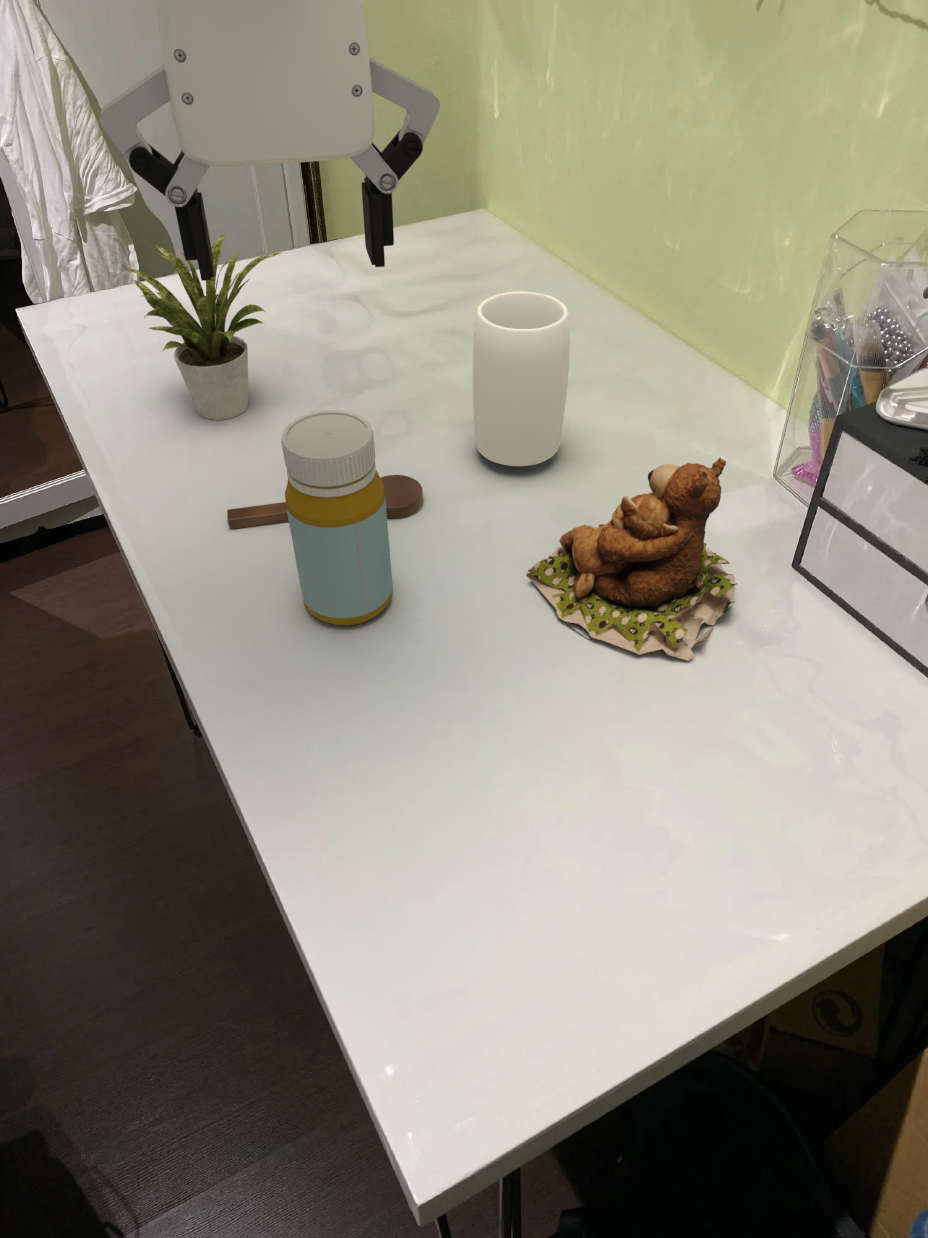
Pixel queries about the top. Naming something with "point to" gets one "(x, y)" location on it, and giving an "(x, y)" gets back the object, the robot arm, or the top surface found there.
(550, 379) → the cup
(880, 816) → the top surface
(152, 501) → the top surface
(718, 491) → the bear figurine
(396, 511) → the spoon
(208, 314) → the house plant
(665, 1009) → the top surface
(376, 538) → the bottle
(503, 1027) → the top surface
